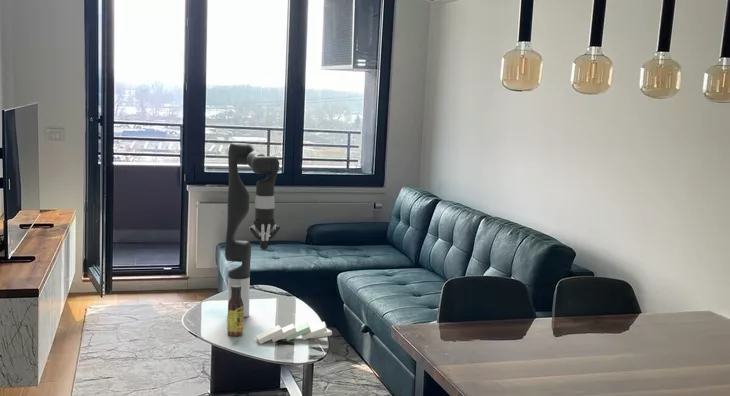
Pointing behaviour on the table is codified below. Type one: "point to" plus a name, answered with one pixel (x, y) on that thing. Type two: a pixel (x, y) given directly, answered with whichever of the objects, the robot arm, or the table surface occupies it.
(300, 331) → the domino
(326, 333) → the domino
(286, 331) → the domino
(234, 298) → the sauce bottle
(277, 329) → the domino
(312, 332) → the domino
